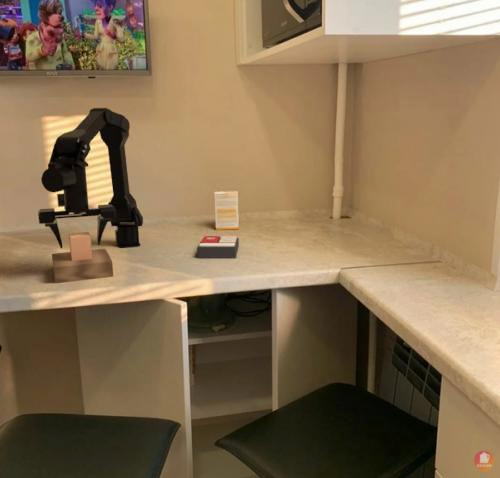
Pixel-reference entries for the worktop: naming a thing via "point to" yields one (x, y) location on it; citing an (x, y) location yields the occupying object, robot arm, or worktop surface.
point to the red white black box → (218, 247)
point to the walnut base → (82, 266)
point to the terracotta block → (80, 246)
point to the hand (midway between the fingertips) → (80, 246)
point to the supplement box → (226, 210)
